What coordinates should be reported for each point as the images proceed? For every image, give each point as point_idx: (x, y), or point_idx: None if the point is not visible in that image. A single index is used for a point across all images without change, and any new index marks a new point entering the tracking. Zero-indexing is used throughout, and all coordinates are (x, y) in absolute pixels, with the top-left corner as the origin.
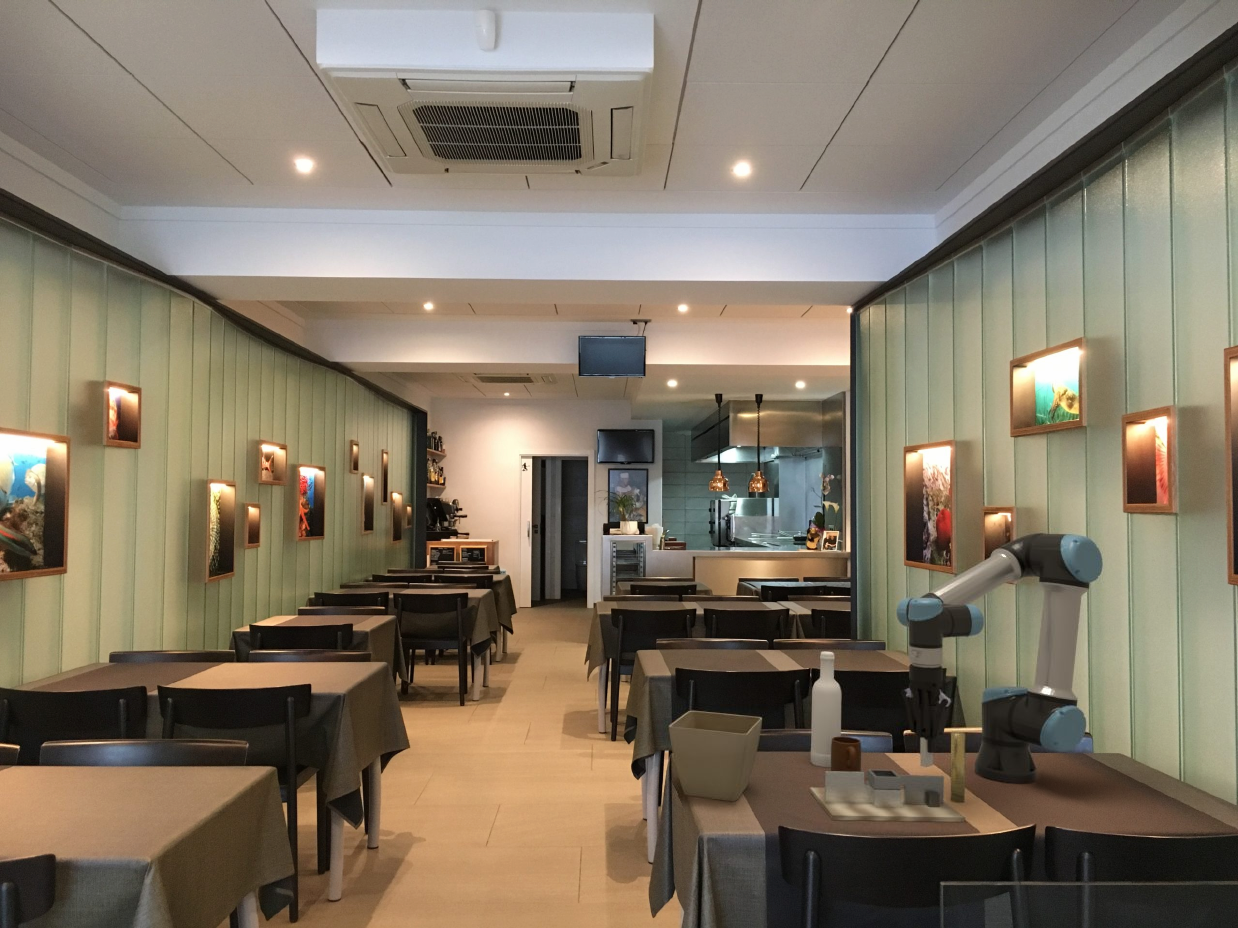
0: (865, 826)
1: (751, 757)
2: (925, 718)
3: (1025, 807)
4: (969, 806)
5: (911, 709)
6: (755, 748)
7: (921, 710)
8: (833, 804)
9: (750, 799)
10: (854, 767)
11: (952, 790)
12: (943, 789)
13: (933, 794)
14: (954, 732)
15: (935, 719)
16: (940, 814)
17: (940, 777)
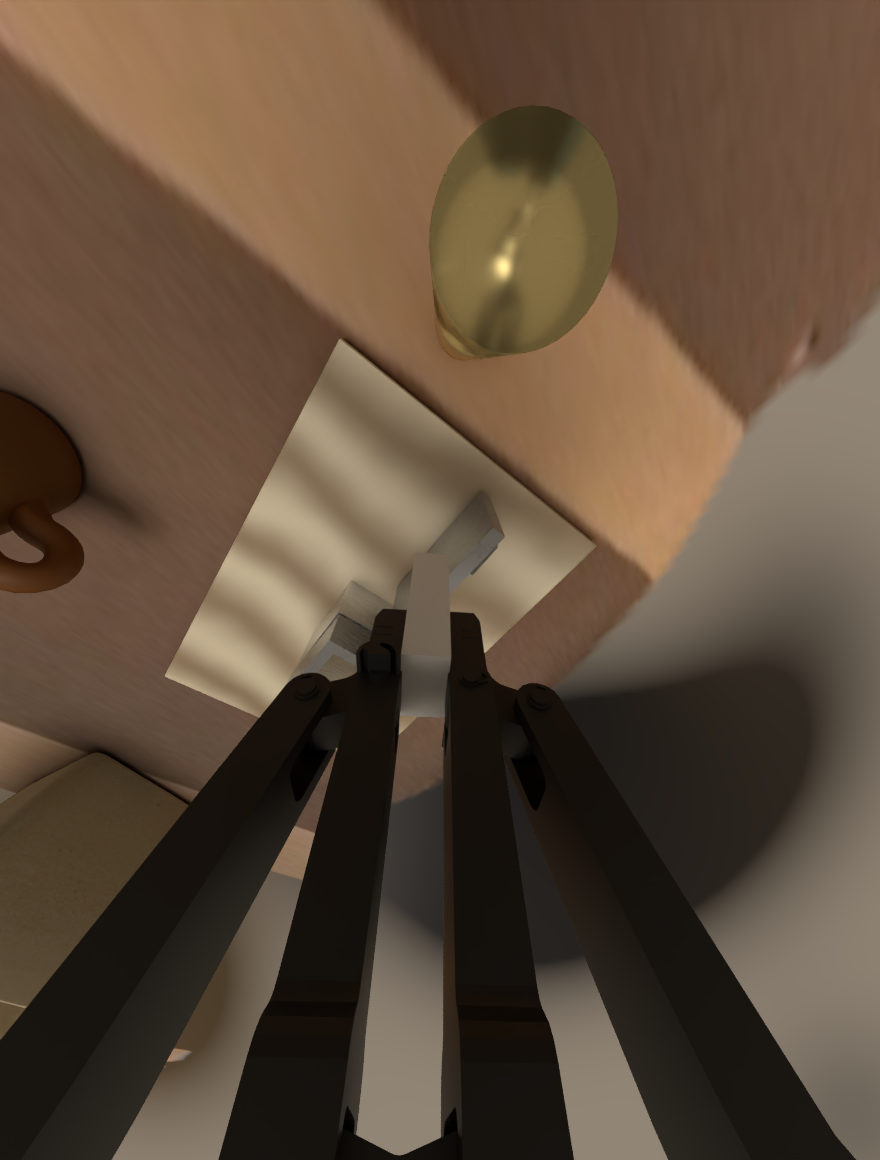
0: (435, 738)
1: (80, 856)
2: (382, 818)
3: (759, 71)
4: (536, 363)
5: (216, 952)
6: (33, 862)
7: (369, 983)
8: None
9: (188, 782)
10: (41, 487)
11: (458, 358)
12: (496, 516)
13: (482, 563)
14: (470, 260)
15: (510, 832)
16: (527, 583)
17: (494, 547)
